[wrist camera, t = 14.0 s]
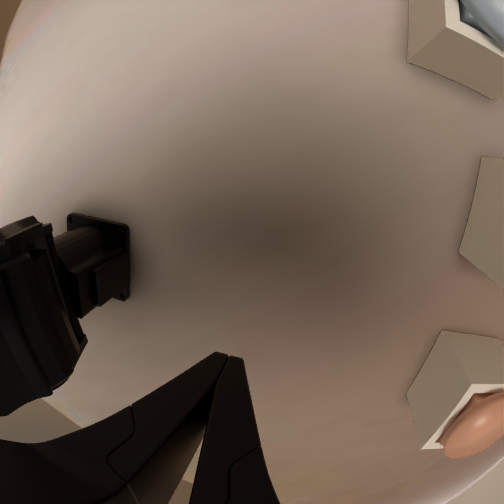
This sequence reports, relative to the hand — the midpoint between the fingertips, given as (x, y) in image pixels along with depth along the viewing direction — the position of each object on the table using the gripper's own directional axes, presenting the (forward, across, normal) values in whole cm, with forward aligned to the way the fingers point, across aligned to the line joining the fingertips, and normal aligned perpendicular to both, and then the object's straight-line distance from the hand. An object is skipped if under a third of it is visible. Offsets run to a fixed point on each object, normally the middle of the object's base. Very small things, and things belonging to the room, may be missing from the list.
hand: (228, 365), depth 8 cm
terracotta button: (+8, -18, +7) cm, 21 cm away
